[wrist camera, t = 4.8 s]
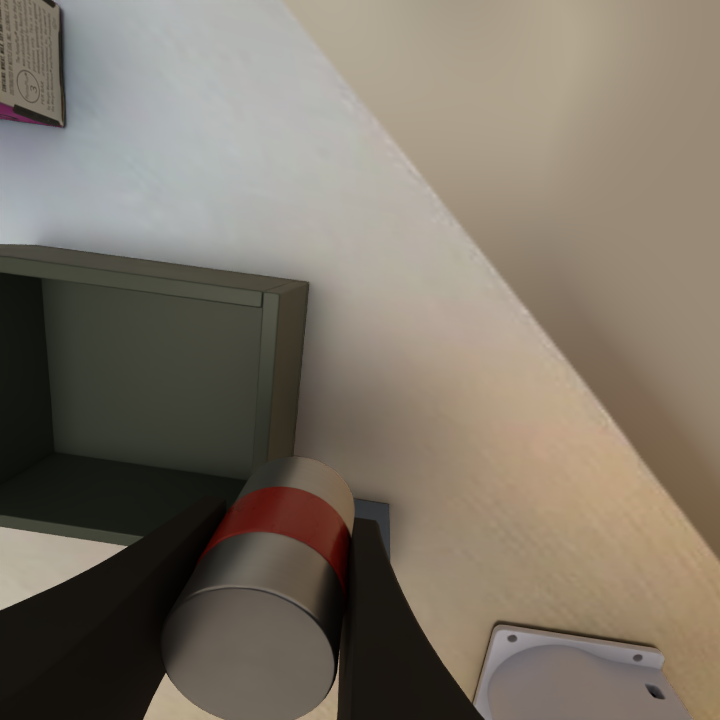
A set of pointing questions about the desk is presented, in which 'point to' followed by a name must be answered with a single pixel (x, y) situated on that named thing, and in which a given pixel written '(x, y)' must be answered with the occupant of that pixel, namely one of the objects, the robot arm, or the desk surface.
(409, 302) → the desk surface
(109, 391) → the dark olive open box
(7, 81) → the candy bar box
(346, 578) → the can
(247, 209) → the desk surface
